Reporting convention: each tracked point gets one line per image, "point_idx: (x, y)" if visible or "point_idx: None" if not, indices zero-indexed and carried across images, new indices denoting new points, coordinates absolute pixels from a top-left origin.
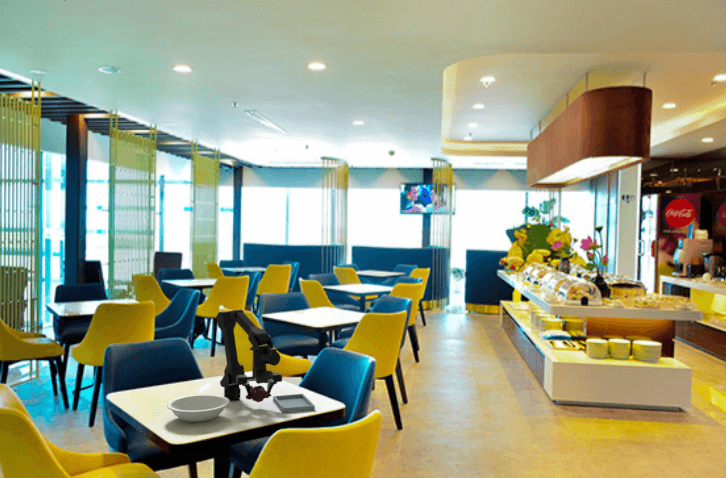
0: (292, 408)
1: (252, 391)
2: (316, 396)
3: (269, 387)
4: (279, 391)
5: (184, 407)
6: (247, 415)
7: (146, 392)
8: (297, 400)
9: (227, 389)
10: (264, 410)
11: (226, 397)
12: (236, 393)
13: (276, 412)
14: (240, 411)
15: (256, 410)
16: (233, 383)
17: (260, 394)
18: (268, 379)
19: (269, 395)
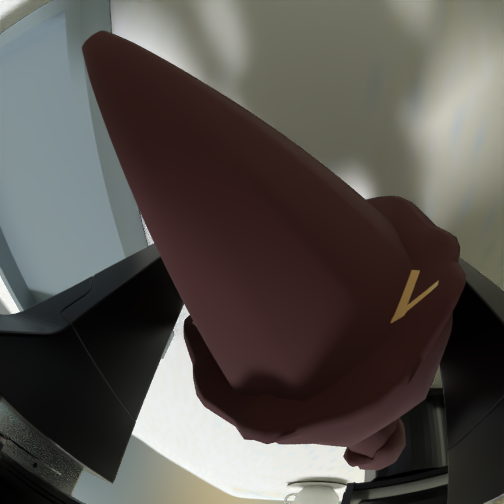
0: (22, 21)
1: (449, 327)
2: (4, 298)
3: (72, 317)
4: (154, 412)
5: None
6: (469, 18)
7: None
8: (36, 265)
9: (445, 454)
10: (268, 107)
11: (443, 414)
12: None
13: (156, 17)
14: (494, 173)
15: (353, 137)
16: (423, 490)
17: (316, 174)
18: (34, 485)
19: (119, 40)
